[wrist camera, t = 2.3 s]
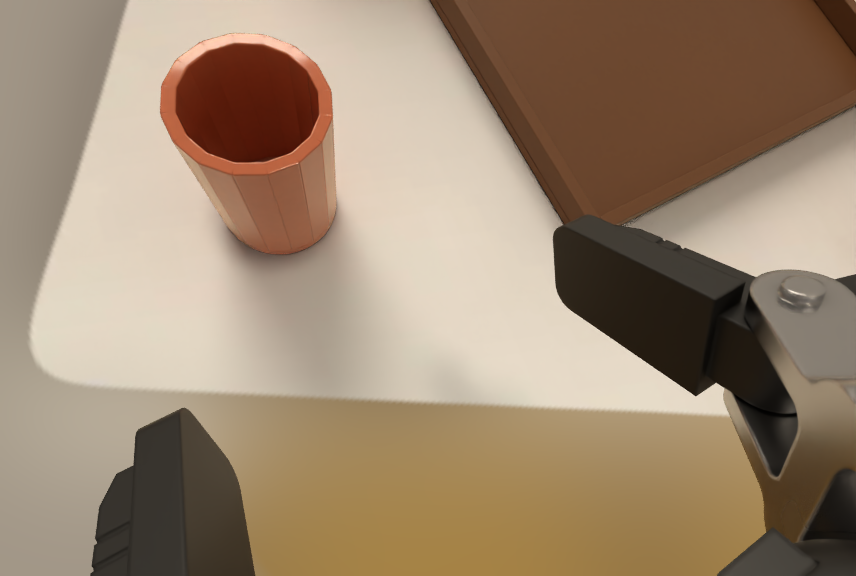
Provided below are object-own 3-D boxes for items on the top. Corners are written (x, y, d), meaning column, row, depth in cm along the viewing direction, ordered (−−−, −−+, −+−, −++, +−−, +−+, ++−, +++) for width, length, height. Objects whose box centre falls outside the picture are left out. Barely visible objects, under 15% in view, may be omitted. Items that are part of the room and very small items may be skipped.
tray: (577, 247, 27) (596, 234, 25) (414, -24, 30) (420, -55, 28) (879, 93, 35) (911, 74, 33) (727, -109, 38) (748, -138, 36)
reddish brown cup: (250, 272, 23) (199, 199, 15) (204, 177, 24) (133, 59, 16) (354, 228, 25) (359, 141, 17) (308, 140, 26) (291, 15, 17)
